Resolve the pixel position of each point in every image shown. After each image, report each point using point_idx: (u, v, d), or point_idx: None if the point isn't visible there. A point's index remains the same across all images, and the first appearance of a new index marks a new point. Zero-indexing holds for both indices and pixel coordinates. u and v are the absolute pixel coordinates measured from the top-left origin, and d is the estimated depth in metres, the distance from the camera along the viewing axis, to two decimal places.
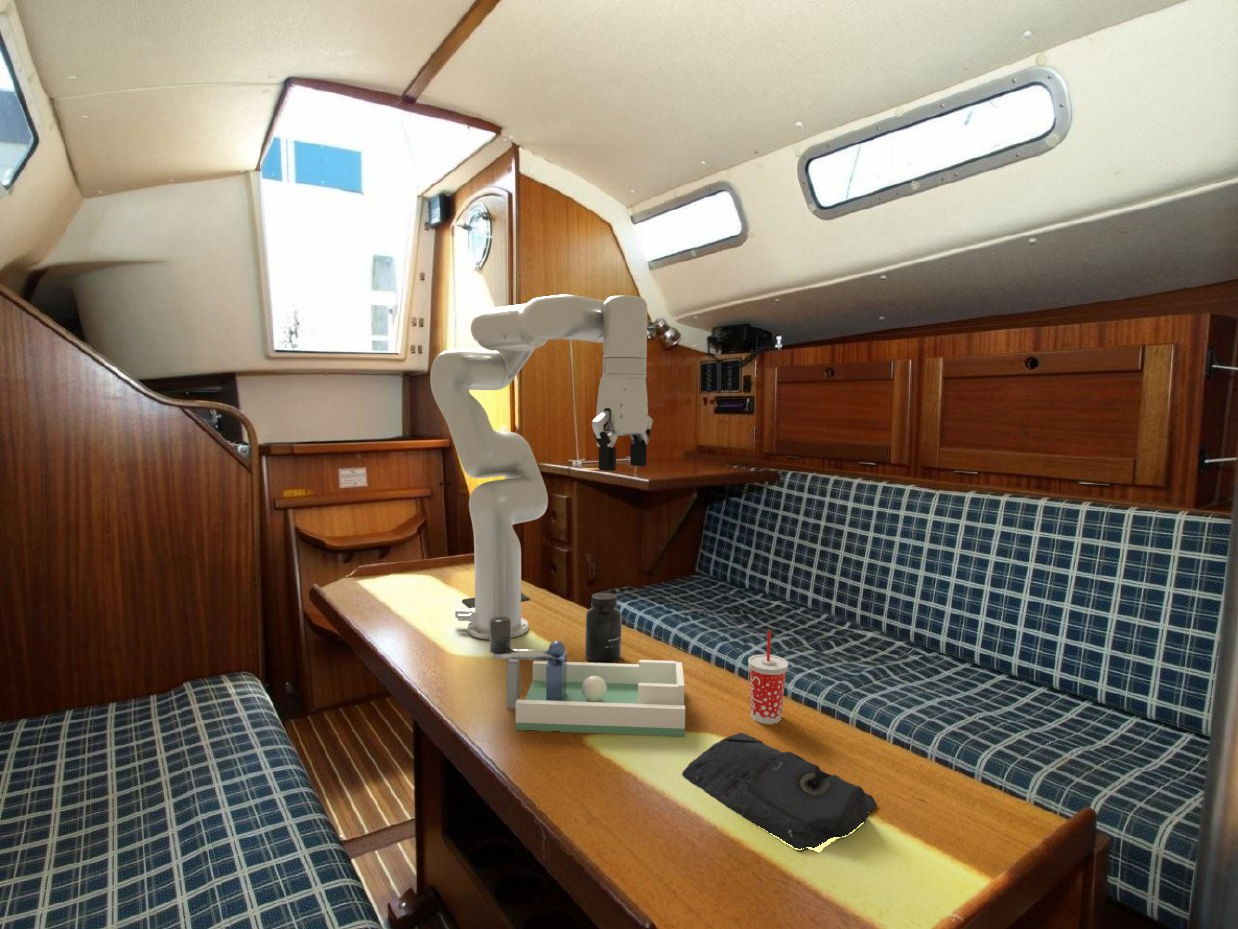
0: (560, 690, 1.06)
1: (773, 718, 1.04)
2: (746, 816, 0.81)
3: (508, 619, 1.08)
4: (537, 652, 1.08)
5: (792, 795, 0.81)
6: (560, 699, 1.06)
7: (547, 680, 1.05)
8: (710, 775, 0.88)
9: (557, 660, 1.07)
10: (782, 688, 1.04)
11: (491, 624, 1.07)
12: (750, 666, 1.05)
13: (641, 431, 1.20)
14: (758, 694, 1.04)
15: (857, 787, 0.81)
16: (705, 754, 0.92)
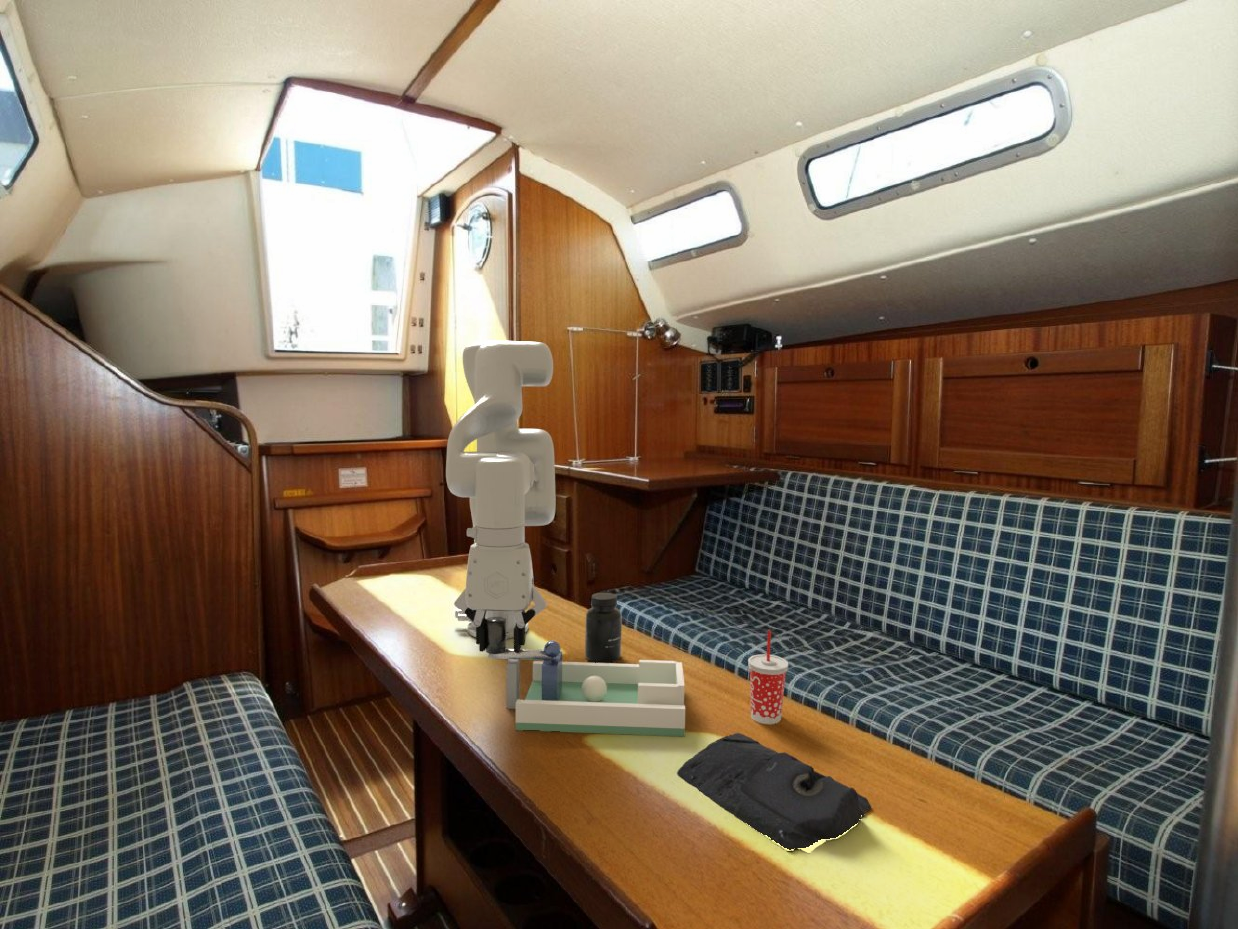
0: (555, 690, 1.06)
1: (773, 718, 1.04)
2: (739, 816, 0.81)
3: (504, 619, 1.08)
4: (533, 652, 1.08)
5: (785, 796, 0.81)
6: (555, 699, 1.06)
7: (542, 680, 1.06)
8: (704, 775, 0.88)
9: (552, 660, 1.07)
10: (782, 688, 1.04)
11: (487, 624, 1.07)
12: (750, 666, 1.05)
13: None
14: (758, 694, 1.04)
15: (850, 789, 0.80)
16: (701, 753, 0.92)
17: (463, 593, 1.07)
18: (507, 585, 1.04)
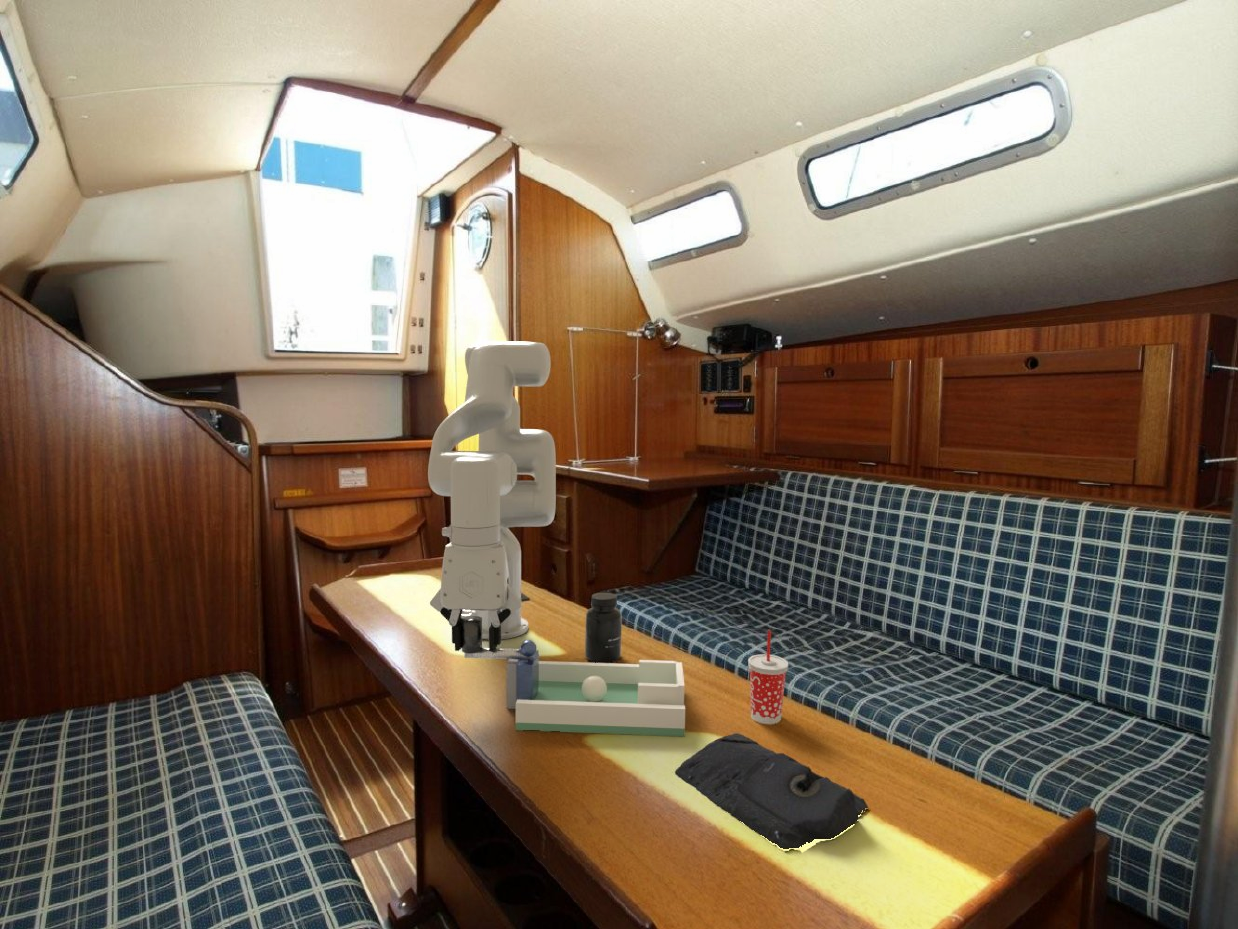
0: (531, 689, 1.06)
1: (773, 718, 1.04)
2: (735, 816, 0.81)
3: (480, 618, 1.08)
4: (508, 651, 1.08)
5: (782, 797, 0.81)
6: (531, 698, 1.06)
7: (518, 679, 1.06)
8: (702, 775, 0.88)
9: (528, 659, 1.08)
10: (782, 688, 1.04)
11: (462, 623, 1.07)
12: (750, 666, 1.05)
13: None
14: (758, 694, 1.04)
15: (847, 790, 0.80)
16: (699, 753, 0.92)
17: (438, 592, 1.07)
18: (482, 584, 1.05)
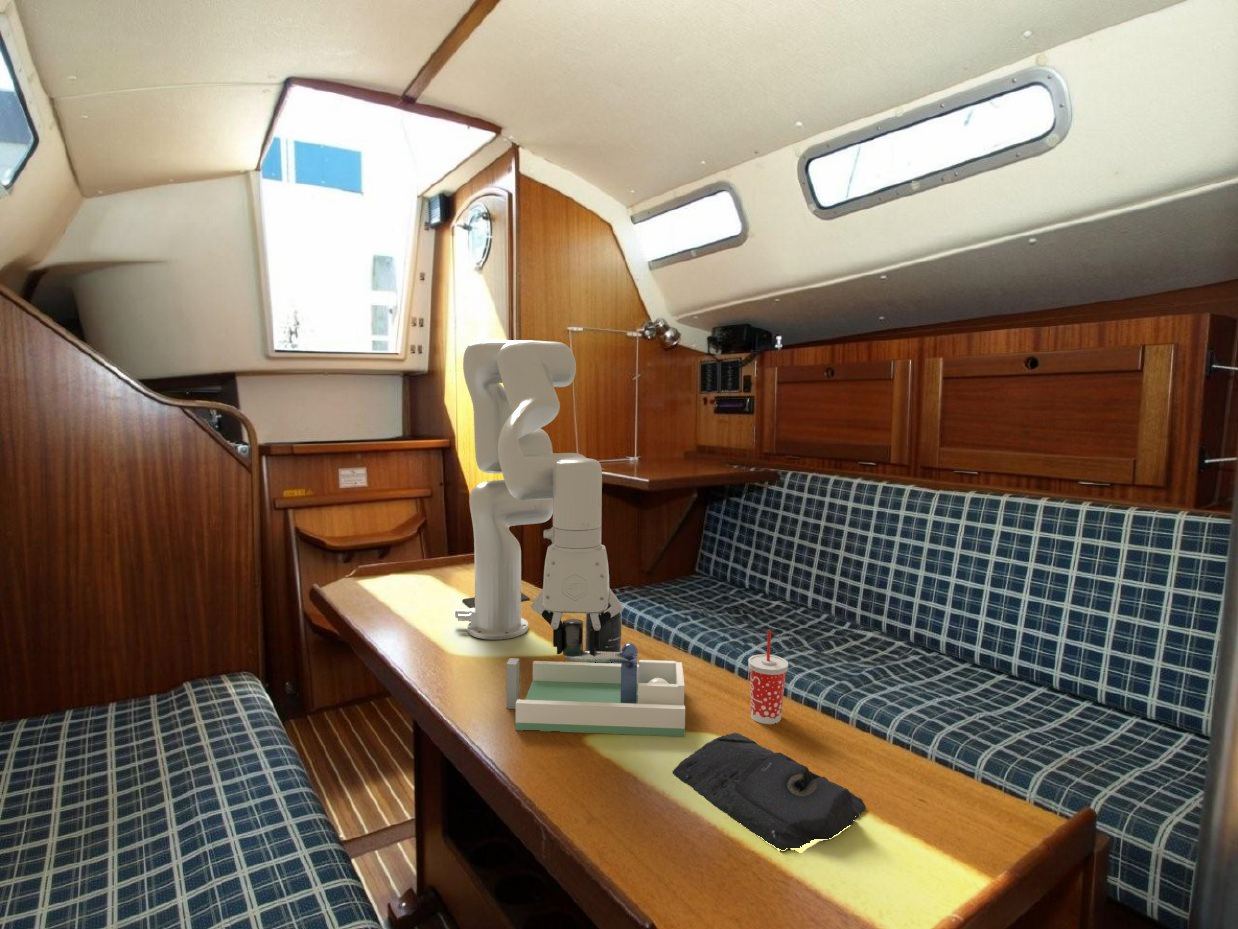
0: (634, 693, 1.05)
1: (773, 718, 1.04)
2: (732, 816, 0.81)
3: (580, 621, 1.08)
4: (610, 654, 1.07)
5: (779, 796, 0.81)
6: (634, 701, 1.05)
7: (622, 683, 1.05)
8: (700, 774, 0.88)
9: (630, 662, 1.07)
10: (782, 688, 1.04)
11: (564, 626, 1.07)
12: (750, 666, 1.05)
13: None
14: (758, 694, 1.04)
15: (844, 789, 0.80)
16: (697, 753, 0.92)
17: (539, 595, 1.07)
18: (585, 587, 1.04)
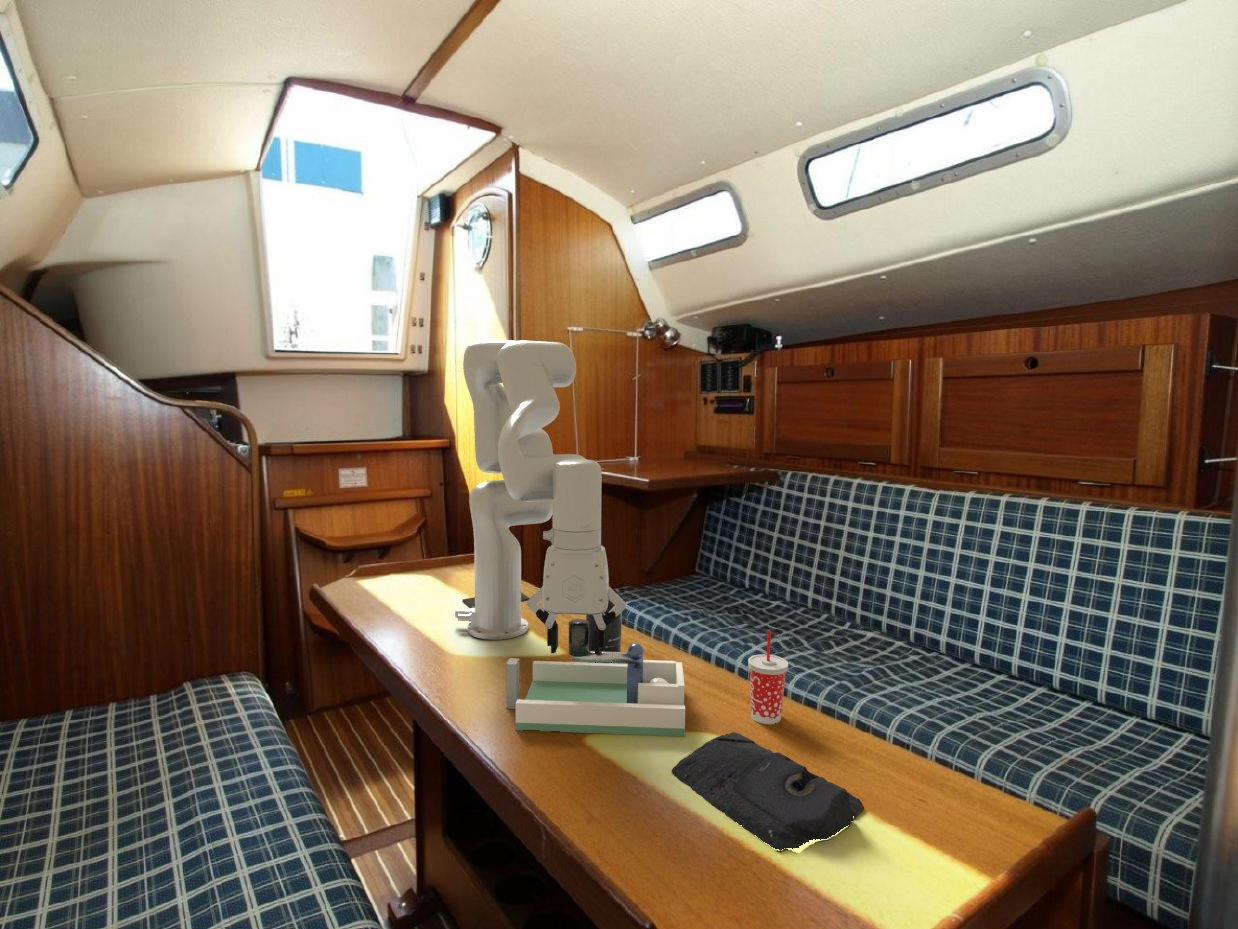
0: None
1: (773, 718, 1.04)
2: (730, 815, 0.81)
3: (586, 621, 1.08)
4: (616, 655, 1.07)
5: (776, 796, 0.81)
6: None
7: (628, 683, 1.05)
8: (698, 773, 0.89)
9: (636, 663, 1.07)
10: (782, 688, 1.04)
11: (570, 626, 1.06)
12: (750, 666, 1.05)
13: None
14: (758, 694, 1.04)
15: (842, 790, 0.80)
16: (696, 752, 0.92)
17: (537, 594, 1.07)
18: (585, 588, 1.04)
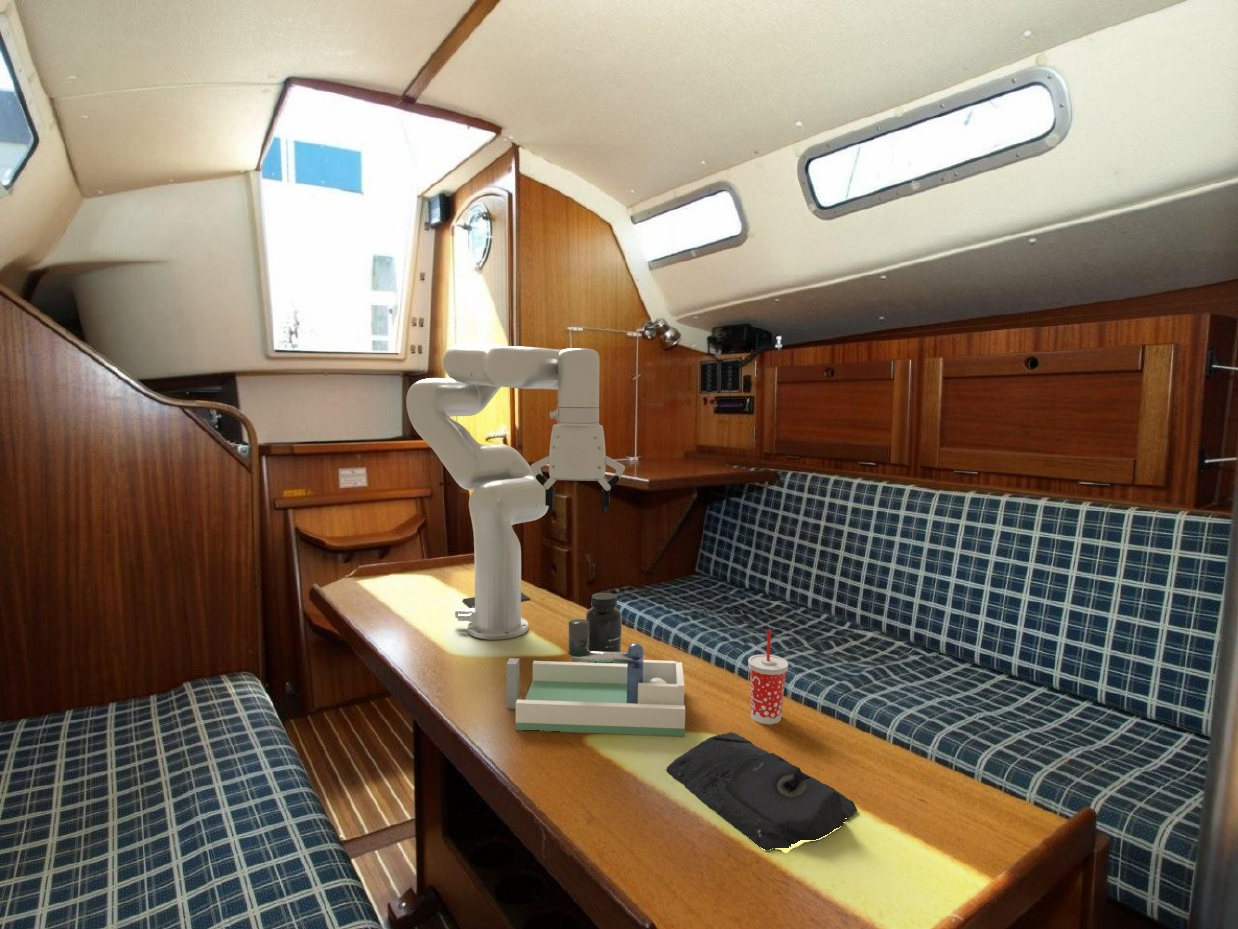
0: None
1: (773, 718, 1.04)
2: (721, 814, 0.82)
3: (586, 621, 1.08)
4: (616, 655, 1.07)
5: (768, 796, 0.81)
6: None
7: (628, 683, 1.05)
8: (692, 772, 0.89)
9: (636, 663, 1.07)
10: (782, 688, 1.04)
11: (570, 626, 1.06)
12: (750, 666, 1.05)
13: None
14: (758, 694, 1.04)
15: (833, 791, 0.80)
16: (691, 751, 0.93)
17: (541, 460, 1.25)
18: (585, 457, 1.22)
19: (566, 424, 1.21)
